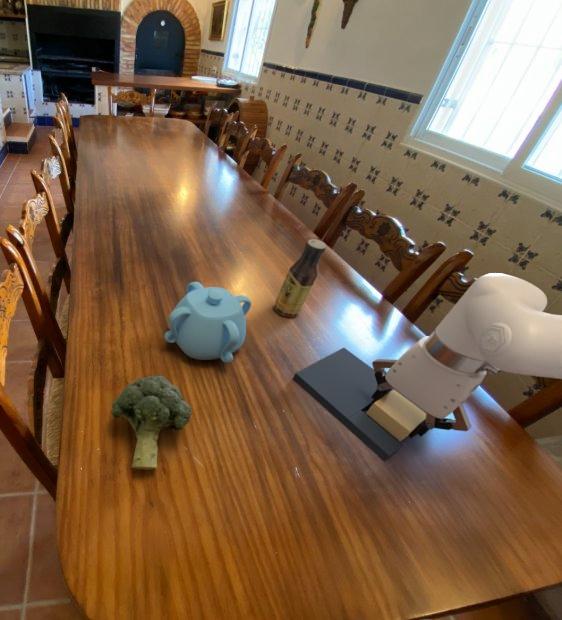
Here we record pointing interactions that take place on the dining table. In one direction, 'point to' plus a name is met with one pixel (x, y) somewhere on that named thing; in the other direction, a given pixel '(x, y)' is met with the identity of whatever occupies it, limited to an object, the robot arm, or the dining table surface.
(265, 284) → the dining table surface
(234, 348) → the decorative pot
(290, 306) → the sauce bottle
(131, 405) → the vegetable
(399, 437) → the pad
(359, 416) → the u-shaped block
